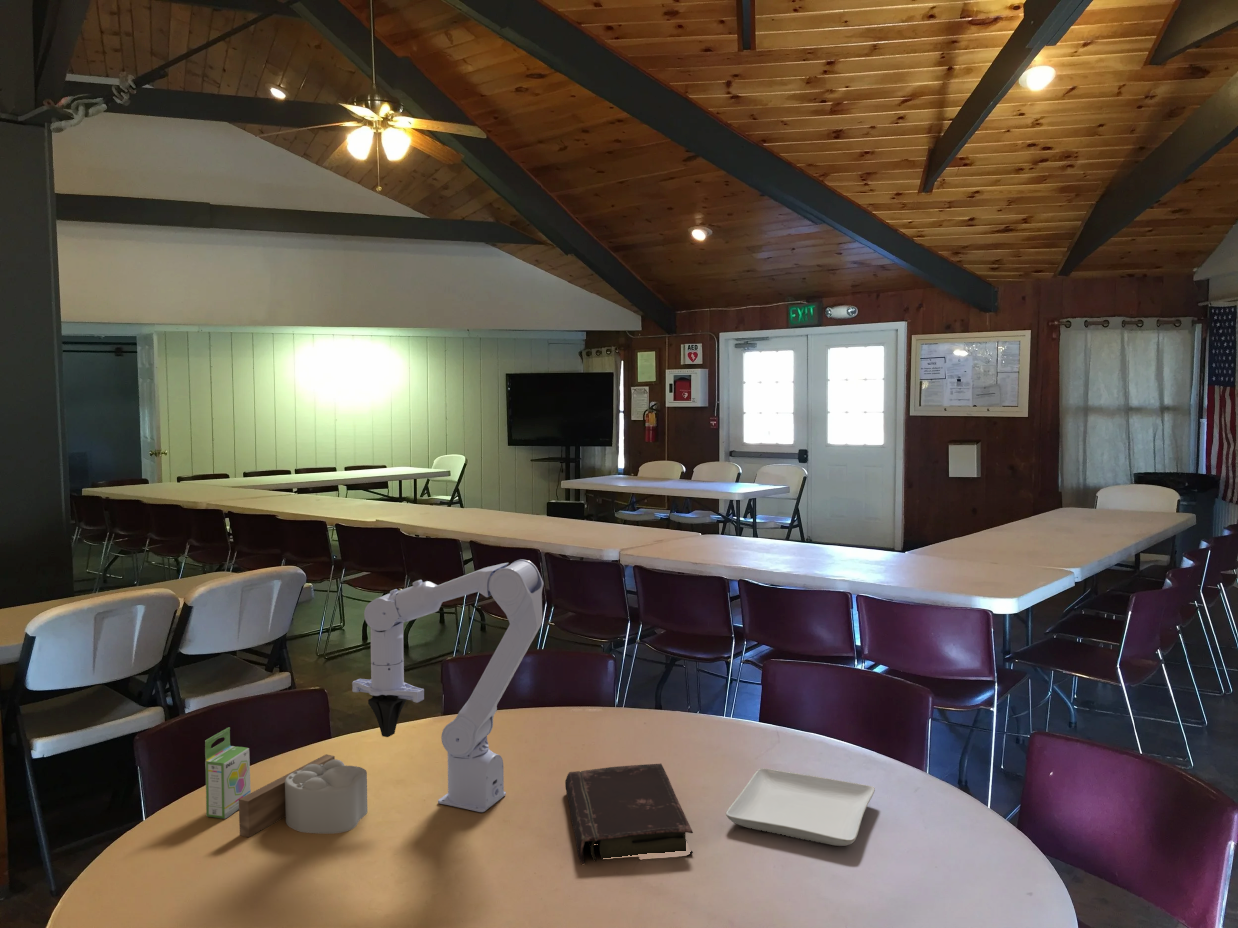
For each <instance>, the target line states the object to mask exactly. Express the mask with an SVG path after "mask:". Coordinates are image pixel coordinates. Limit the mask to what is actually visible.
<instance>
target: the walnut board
mask: <svg viewBox="0 0 1238 928" xmlns="http://www.w3.org/2000/svg"><path fill="white" fill-rule="evenodd" d="M335 757H336V756H335V755H330V754H324V755H322V756H320V757H318V758H317V759H314V760H312V761H310V762H309V763H307V764H304V765H302V766H300V767H299V768H297V769H295V770H293V771H291V772H289V773H287V774H285V775H283V776H281V777H279V778H278V779H276V780H274V781H271V782H270V783H268V784H265V785H263V786H262V787H260V788H258V789H256V790H253V791H251V793H250V794H248V795H246V796H244V797H242V798H240V799H239V810H238V815H239V816H238V817H239V818H238V821H239V824H238V825H239V836H242V837H246V838H251V837H253V836H254V835H255V833H256V834H258V833H259V832H261V831H263V830H264V829H267V828H268V827H270V826H271V825H273V824H274V823H277V822H278V821H280V820H282V819H284V818H286V809H285V779H286V778H287V776H288V775H290V774H291V773H294V772H295V771H299V770H302V769H303V768H304V767H305V766H307V765H310V764H317V765H320V764H322V765H324V764H325V763H327V762H328V761H331V760H334V759H336V758H335ZM262 829H263V830H262ZM260 830H261V831H260Z"/></svg>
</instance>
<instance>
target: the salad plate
mask: <svg viewBox="0 0 1238 928" xmlns="http://www.w3.org/2000/svg"><path fill="white" fill-rule="evenodd" d="M875 788H876V787H875V786H872V785H868V784H862V783H856V782H850V781H844V780H839V779H832V778H828V777H827V778H826V777H820V776H816V775H815V776H813V775H809V774H804V773H803V774H802V773H795V772H792V771H791V772H789V771H785V770H784V771H783V770H777V769H773V768H772V769H771V768H758V769H757V770H756V772H755V773H754V774H753V775H752V776H751V778H750V779H749V781H748V783H747V784H746V785H745V787H744V788H743V790H741V792H740V793H739V795H738V796H737V797H736V798H735V800H734V801H733V802H732V804H731V805H730V806H729V808H727V810H726V812H725V815H726V817H727V818H728V819H729V821H731V822H732V823H734V824H736V825H738V826H740V827H745V828H748V829H751V828H752V829H751V830H757V831H761V830H762V832H766V831H767V833H771V832H772V833H771V834H775V833H777V835H780V834H782V835H781V836H784V835H786V836H785V837H789V836H791V837H790V838H794V837H796V838H795V839H799V838H801V839H800V840H804V839H806V840H805V841H809V840H811V841H810V842H814V841H816V842H815V843H819V842H821V843H820V844H825V845H830V846H831V845H832V846H836V847H837V846H838V847H842V846H843V847H844V846H850V845H851V844H853V843H854V842H855V841H856V839H857V838H858V834H859V831H860V827H861V824H862V820H863V818H864V814H865V812H866V809H867V808H868V805H869V803H870V801H871V799H872V797H873V796H874V794H875V791H876V790H875Z"/></svg>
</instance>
